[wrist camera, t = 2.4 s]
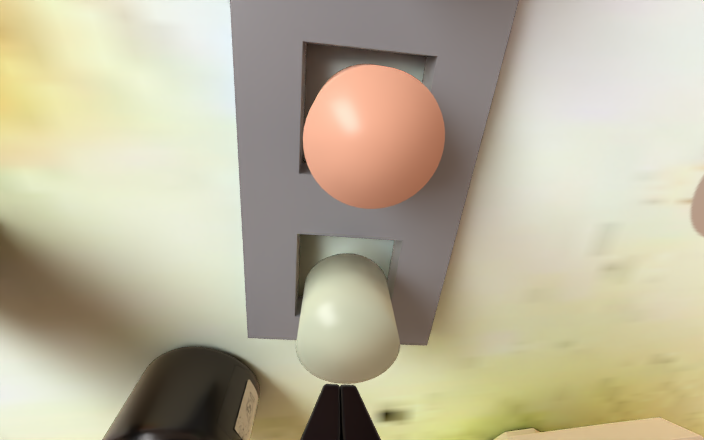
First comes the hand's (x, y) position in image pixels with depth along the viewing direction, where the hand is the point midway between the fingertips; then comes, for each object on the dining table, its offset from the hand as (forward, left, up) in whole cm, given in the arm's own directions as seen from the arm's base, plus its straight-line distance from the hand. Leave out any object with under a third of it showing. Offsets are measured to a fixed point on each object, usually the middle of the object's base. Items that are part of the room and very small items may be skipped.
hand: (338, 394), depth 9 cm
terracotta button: (+5, +2, -10) cm, 11 cm away
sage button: (-3, -2, -10) cm, 10 cm away
